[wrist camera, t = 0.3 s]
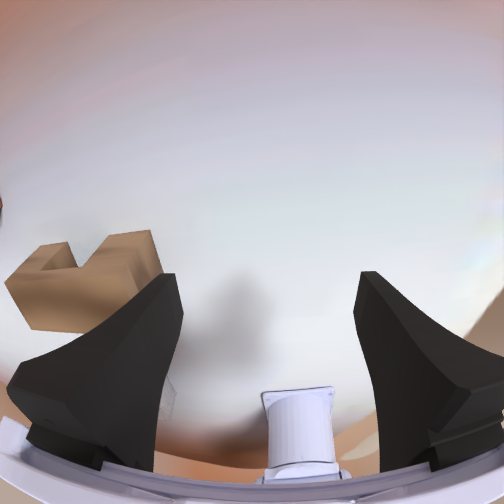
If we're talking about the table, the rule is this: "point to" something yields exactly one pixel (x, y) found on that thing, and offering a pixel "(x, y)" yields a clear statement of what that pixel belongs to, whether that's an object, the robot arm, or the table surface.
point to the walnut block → (82, 282)
